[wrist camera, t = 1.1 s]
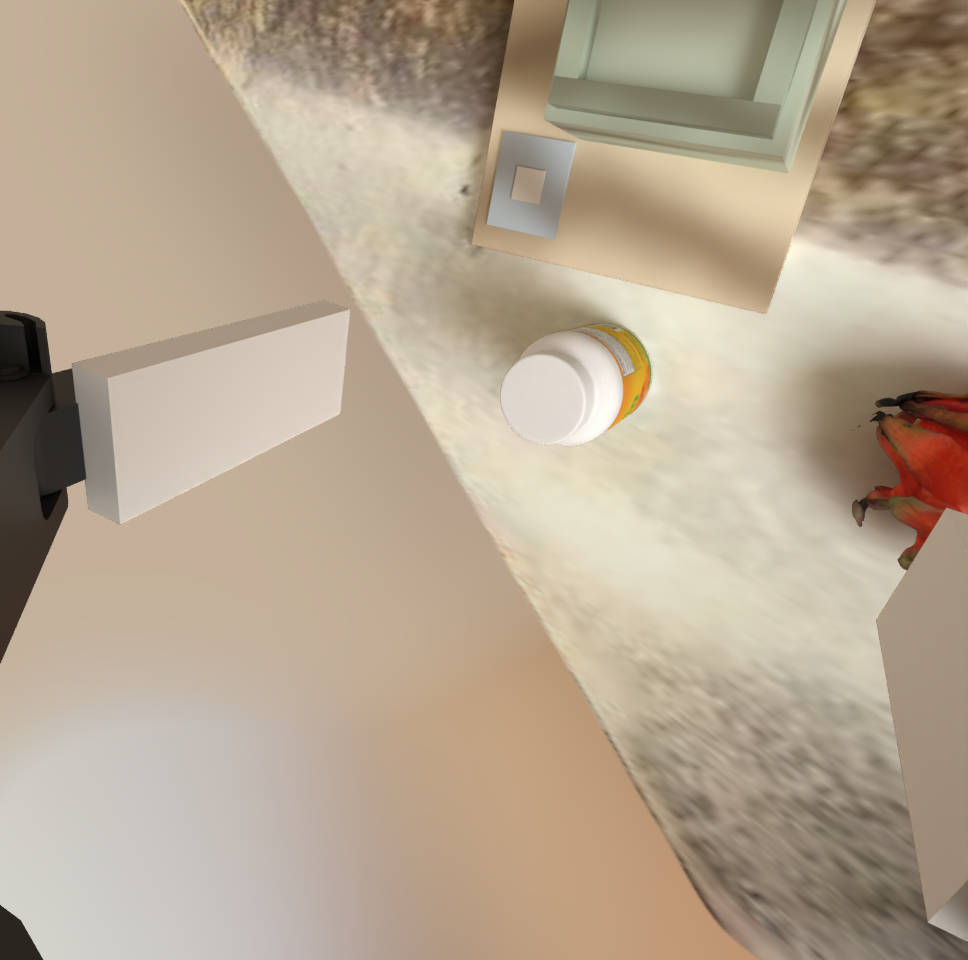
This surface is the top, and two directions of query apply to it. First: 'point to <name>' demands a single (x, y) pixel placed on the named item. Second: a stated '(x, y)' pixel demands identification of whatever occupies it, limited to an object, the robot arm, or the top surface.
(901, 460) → the dragon fruit
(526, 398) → the supplement bottle
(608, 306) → the top surface
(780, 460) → the top surface
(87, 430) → the robot arm
